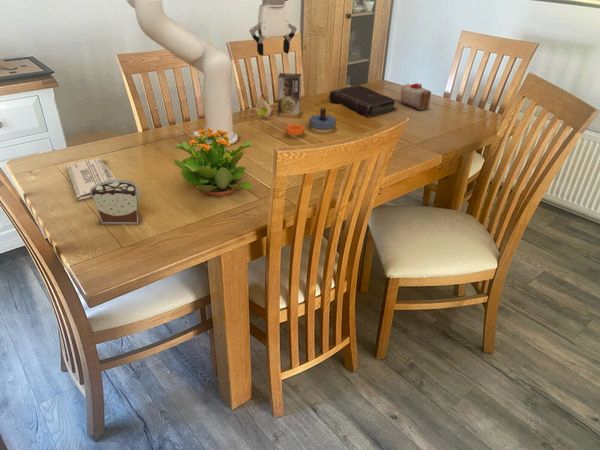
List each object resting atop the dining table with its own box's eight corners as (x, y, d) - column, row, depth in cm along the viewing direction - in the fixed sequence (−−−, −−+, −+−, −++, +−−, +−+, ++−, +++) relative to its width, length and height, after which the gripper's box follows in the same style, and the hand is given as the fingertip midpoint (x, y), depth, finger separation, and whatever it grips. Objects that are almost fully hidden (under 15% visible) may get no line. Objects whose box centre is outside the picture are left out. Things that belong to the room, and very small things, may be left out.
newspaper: (123, 190, 137) (120, 183, 136) (79, 204, 133) (76, 196, 131) (107, 160, 153) (105, 153, 152) (68, 171, 149) (65, 164, 147)
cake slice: (149, 211, 128) (144, 178, 122) (144, 223, 123) (137, 189, 117) (103, 211, 127) (96, 178, 122) (96, 223, 122) (87, 189, 117)
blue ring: (317, 130, 178) (317, 124, 176) (305, 122, 185) (306, 116, 183) (339, 127, 181) (339, 121, 180) (327, 119, 188) (327, 113, 187)
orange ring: (290, 139, 174) (290, 131, 172) (283, 133, 179) (283, 125, 177) (306, 136, 176) (306, 129, 175) (298, 131, 181) (299, 123, 179)
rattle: (280, 117, 193) (280, 89, 187) (265, 121, 189) (264, 93, 182) (269, 112, 198) (269, 85, 192) (253, 116, 193) (253, 88, 187)
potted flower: (277, 192, 139) (277, 136, 130) (210, 220, 125) (205, 160, 115) (226, 164, 154) (222, 113, 144) (161, 187, 140) (153, 131, 130)
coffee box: (300, 112, 199) (301, 73, 191) (299, 117, 194) (300, 77, 185) (279, 110, 200) (279, 72, 191) (277, 116, 195) (277, 76, 186)
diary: (366, 118, 196) (367, 106, 193) (328, 101, 212) (329, 90, 210) (397, 110, 205) (399, 98, 202) (359, 95, 222) (360, 84, 219)
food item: (396, 102, 214) (399, 80, 209) (409, 100, 218) (412, 78, 212) (418, 111, 204) (422, 88, 199) (431, 108, 208) (435, 86, 203)
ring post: (316, 134, 178) (317, 114, 174) (305, 126, 186) (305, 106, 181) (339, 131, 182) (341, 111, 178) (327, 122, 189) (328, 103, 185)
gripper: (292, -2, 163) (291, 49, 172) (245, 0, 157) (246, 53, 166) (301, 1, 158) (300, 54, 167) (253, 3, 151) (254, 58, 160)
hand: (273, 53), depth 166 cm, fingers open, 9 cm apart
